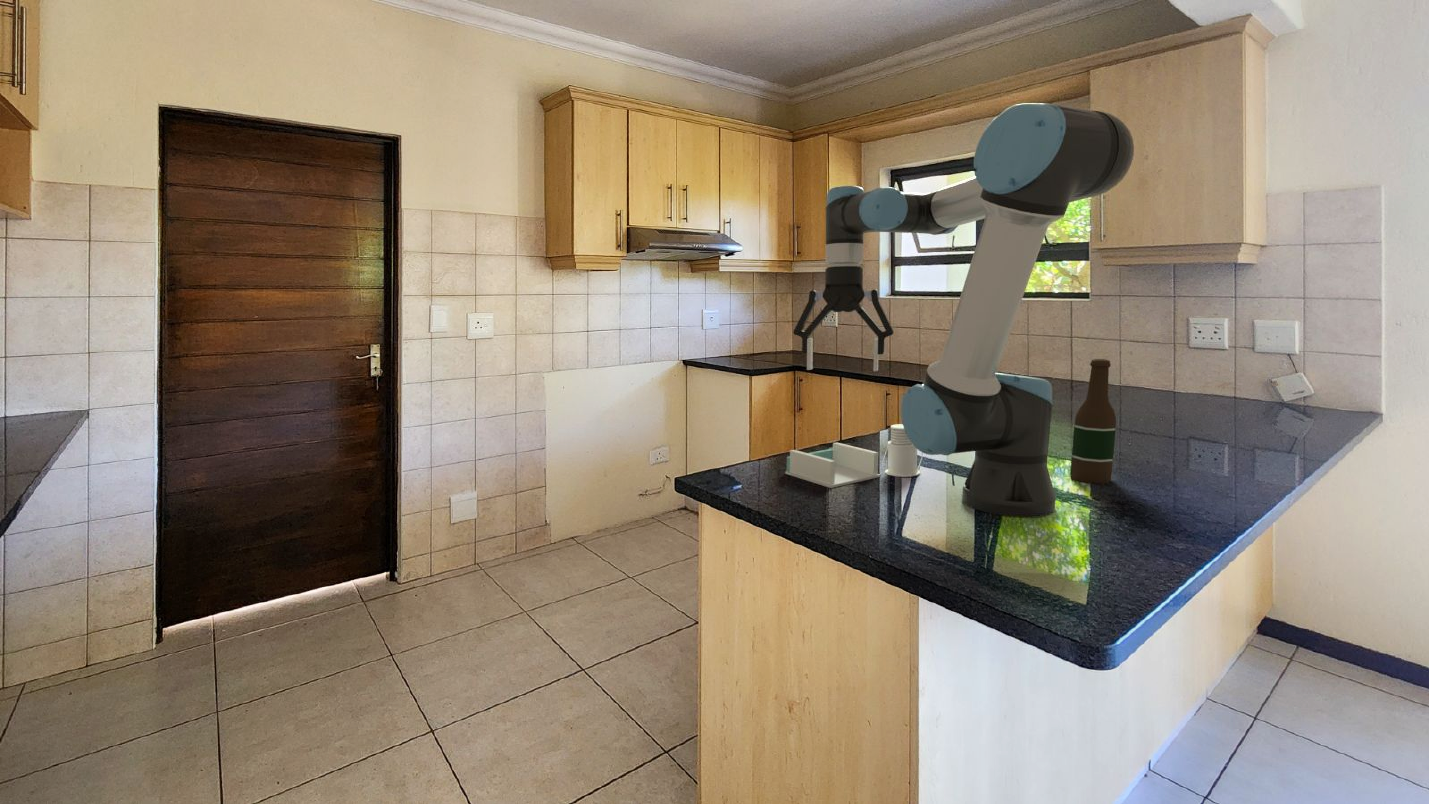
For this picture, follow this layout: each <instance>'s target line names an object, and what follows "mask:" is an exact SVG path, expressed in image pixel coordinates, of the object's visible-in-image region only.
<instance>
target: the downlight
mask: <svg viewBox="0 0 1429 804" xmlns="http://www.w3.org/2000/svg"><path fill="white" fill-rule="evenodd" d="M923 454H924V453H923V452H921V457H920V460H919V463H918V449H917V448H916V447H915V446H914V445H913V444H912V443H911V442H910V440H909V439H908V437H907V435H906V433H905V430H904V427H903V424H902V423H901V424H900V423H898V424H897V423H896V424H892V425H890V440H888V441H887V446H886V448H885V453H884V456H883V458H882V464H884V461H885V458H886V456H887V469H885V470H884V473H885V474H886V475H888V476H893V477H901V478H904V477H905V478H907V477H908V478H909V477H915V476H919V475H920V474H921V471H920V466H921V464H922V462H923V457H924V455H923Z"/></svg>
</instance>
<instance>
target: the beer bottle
mask: <svg viewBox="0 0 1429 804" xmlns="http://www.w3.org/2000/svg"><path fill="white" fill-rule="evenodd" d="M1089 365H1090V368H1091V369H1090V375H1089V379H1088V380H1089V382H1088V386H1087V387H1088V388H1087V393H1086V397H1085V399H1084V401H1083V402H1081V404H1080V405H1079V407H1078V409H1077V411H1076V414H1075V417H1074V418H1075V419H1074V425H1073V433H1072V434H1073V436H1072V446H1071V448H1072V449H1071V458H1070V459H1071V460H1070V476H1069V477H1070V479H1071V480H1074V481H1078V482H1080V483H1085V484H1096V485H1102V484H1110V482H1111V479H1112V473H1113V464H1114V463H1113V462H1114V452H1115V440H1116V430H1117V429H1116V428H1117V417H1116V413H1115V409H1114V407H1113V406H1112V404H1111V402H1110V401H1109V399H1110V398H1109V374H1110V373H1109V371H1110V370H1109V369H1110V367H1112V366H1111V362H1110V360H1109V359H1104V358H1103V359H1102V358H1093V359H1091V361H1090V363H1089Z"/></svg>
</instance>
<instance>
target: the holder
mask: <svg viewBox="0 0 1429 804" xmlns="http://www.w3.org/2000/svg"><path fill="white" fill-rule="evenodd" d="M878 471H879V451H878V452H877V451H874V450H871V449H865V448H862V447H856V446H854V445H853V446H852V445H850V444H845V443H841V442H833V443H832V448H828V449H822V450H817V451H812V452H804V451H801V450H796V449H792V450H791V449H790V450H789V456H786V470H785V472H784V473H785V475H789V476H791V477H794V478H799V479H801V480H805V481H808V482H810V483H814V484H817V485H821V486H823V487H826V488H829V489H832V488H837V487H842V486H846V485H850V484H854V483H859V482H860V483H861V482H863V481H868V480H872V479H876V478H880V477H881V474H879V473H878Z"/></svg>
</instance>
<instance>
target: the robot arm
mask: <svg viewBox="0 0 1429 804" xmlns="http://www.w3.org/2000/svg"><path fill="white" fill-rule="evenodd" d="M1134 153H1135V144H1134V138H1133V136H1132V133H1131V131H1130V130H1129V128H1128V126H1127V125H1126V123H1124V122H1123V121H1122V120H1121V119H1120V118H1119V117H1117V116H1115V115H1113V114H1111V113H1108V112H1105V111H1100V110H1089V109H1082V108H1081V109H1080V108H1076V107H1070V106H1069V107H1068V106H1063V105H1055V104H1052V103H1049V102H1047V103H1043V102H1042V103H1041V102H1039V103H1037V102H1036V103H1035V102H1032V103H1030V102H1027V103H1025V102H1024V103H1019V104H1014V105H1012V106H1010V107H1008V108H1006V109H1004V110H1003V111H1002V113H1000V114H999V115H997V116H996V117H994V118H993V119H992V121H991V122H990V123H988V125H987V126H986V128H985V129H984V131H983V132H982V134H981V136H980V138H979V141H978V143H977V144H976V148H975V151H974V155H973V156H974V157H973V168H974V169H975V170H976V171H975V172H974V176H973V177H970V178H968V179H965V180H961V181H960V182H955V183H953V184H950V185H948V186H945V187H942V188H941V189H940V188H939V189H937V190H935V191H931V192H926V193H921V192H919V193H918V192H907V191H906V192H905V191H900V190H898V189H897V188H895V187H889V186H888V187H878V188H875V189H872V190H870V191H866V192H865V191H864V188H863V187H861V186H857V185H841V186H835V187H834V186H833V187H832V188H830V189H828V191H827V193H826V206H825V261H824V262H825V264H826V265H828V266H827V267H826V268H825V271H824V272H825V273H824V274H825V277H824V278H825V280H824V281H825V282H824V283H825V284H824V290H823V291H817V290H810V291H809V295H808V301H807V304H806V306H805V308H804V309H803V311H802V314H801V315H800V317H799V319H798V321H797V323H796V325H795V328H794V330H793V334H794V335H795V336H797V337H800V338H801V341H802V342H801V352H802V354H806V370H807V371H811V370H813V369H814V366H813V363H814V358H813V357H814V356H813V355H814V348H813V347H814V338H813V337H810V336H811V335H812V334H813V332H814V331H815V330H816V329H817V328H818V327H819V325H820V324H821V323H822V322H823V321H824V320H825V318H826V317H827V316H828V315H829V314H830V313H831V312H832V311H833V312H834V313H841V312H845V313H851V312H854V311H855V312H856V313H857V314H858V315H859V316H860V318H862V320H863V321H864V322H865V323H866V325H867V326H868V327H869V329H870V330H872V332H873V334H875V336H877V338H874V339H873V366H872V367H873V372H878V371H879V356H880V355H884V353H885V339H886V338H888V337H890V336H893V334H895V333H894V332H895V331H894V328H893V326H892V325H891V323H890V320H889V318H888V317H887V314H886V312H885V310H884V309H883V306H882V304H881V302H880V298H879V291H878V289H872V290H866V291H865V290H864V288H863V280H864V279H863V277H864V271H863V270H864V268H863V267H862V266H861V265H862V264H864V235H865V234H867V233H901V234H902V233H905V234H909V233H910V234H927V235H933V236H937V235H938V236H939V235H945V234H947V235H948V234H951V233H953V232H954V231H955V229H957V228H958V227H959V226H961V225H966V224H970V223H972V222H976V221H981V220H983V223H982V225H981V226H982V227H981V230H980V233H979V235H978V239H977V243H976V245H975V249H974V252H973V256H972V258H971V261H970V265H969V267H968V271H967V274H966V278H965V280H964V284H963V287H962V291H961V293H960V297H959V299H958V302H957V305H956V310H955V313H954V316H953V319H952V322H951V326H950V327H949V328H950V329H949V332H948V334H947V337H946V341H945V344H944V347H943V350H942V354H941V356H940V359H938V360H936V361H934V362H932V363H930V364H929V365H928V367H927V369H926V372H925V375H924V379H923V382H922V384H919V383H916V384H915V385H912V386H911V387H910V388H907V389H906V391H905V392H904V394H903V396H902V399H901V404H900V419H901V424H903V427H904V430H905V433H906V435H907V437H908V439H909V440H910V442H911V443H912V444H913V445H914V446H915V447H916V448H917V451H920V452H921V453H922V452H923V454H924V455H930V456H937V455H938V456H939V455H940V456H941V455H942V456H950V455H952V454H962V453H967V452H968V453H969V452H970V453H971V452H975V453H974V454H975V455H974V456H975V457H974V460H973V463H972V465H971V467H970V470H969V472H968V475H967V476H966V479H965V481H964V484H963V485H962V486H963V487H962V492H961V493H962V494H961V501H962V502H963V504H964V505H966V506H968V507H969V508H972V509H974V510H978V511H979V512H980V511H981V512H984V513H989V514H993V515H999V516H1006V517H1015V518H1016V517H1017V518H1036V517H1043V516H1047V515H1050V514H1052V513H1054V512H1055V510H1056V493H1055V490H1054V486H1053V483H1052V479H1051V475H1050V472H1049V468H1048V456H1049V455H1048V453H1049V445H1050V432H1051V421H1052V410H1053V406H1054V403H1053V402H1054V401H1053V386H1052V383H1050V381H1049V380H1047V379H1045V378H1040V377H1039V378H1038V377H1034V376H1033V377H1032V376H1026V375H1025V376H1024V375H1018V374H1009V373H1005V372H1004V373H1003V372H997V370H998V367H999V365H1000V362H1001V359H1002V357H1003V353H1004V350H1005V348H1006V345H1007V343H1008V339H1009V336H1010V334H1011V332H1012V331H1011V330H1012V328H1013V325H1014V323H1015V319H1016V317H1017V315H1018V311H1019V309H1020V306H1021V303H1022V300H1023V297H1024V295H1025V292H1026V289H1027V287H1028V283H1029V282H1030V279H1031V278H1030V277H1031V276H1032V272H1033V269H1034V267H1035V264H1036V262H1037V259H1038V255H1039V253H1040V250H1041V247H1042V245H1043V242H1044V239H1045V236H1046V234H1047V231H1048V228H1049V226H1050V225H1051V224H1053V223H1054V222H1057V221H1059V220H1060V219H1062V218H1064V217H1065V215H1066V212H1067V209H1068V206H1069V204H1070V203H1072V202H1076V201H1080V200H1086V199H1089V198H1090V199H1091V198H1095V197H1098V196H1101V195H1103V194H1105V193H1107V192H1109V191H1111V190H1112V189H1113V188H1115V187H1116V186H1117V185H1118V184H1119V183H1120V182H1121V181H1122V180H1123V179H1124V178H1125V176H1126V174H1127V173H1128V172H1129V169H1130V168H1131V166H1132V164H1133V159H1134V155H1135V154H1134ZM865 297H866V298H867V300H868V301H869V302H871V303H872V305H873V307H874V309H875V312H876V314H877V315H878V317H879V320H880V322H881V325H882V326H883V328H884V330H882V329H881V327H879V325H877V323H876V322H875V321H874V319H873V318H872V317H871V316H870V314H869V313H868V312H867V311H866V310H865V308H864V307H863V306H862V305H861V303H862V301H863V300H864V299H865ZM821 298H823V300H824V302H825V303H826V305H825V306H824V307H823V309H822V310H821V311H820V312H819V314H818V315H817V316H816V317H815V318H814V319H813V321H812V322H811V323H810V324H809V325H808V326H807V328H806V329H805V330H803V329H804V327H805V325H806V323H807V321H808V320H809V317H810V316H811V313H812V312H813V310H814V307H815V306H816V303H817V302H819V301H820V299H821Z"/></svg>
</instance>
